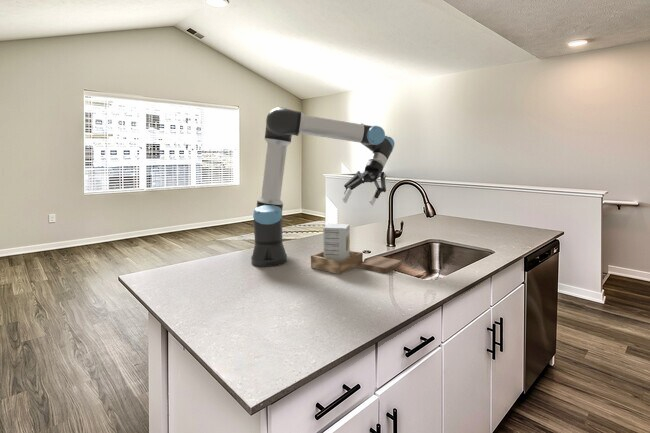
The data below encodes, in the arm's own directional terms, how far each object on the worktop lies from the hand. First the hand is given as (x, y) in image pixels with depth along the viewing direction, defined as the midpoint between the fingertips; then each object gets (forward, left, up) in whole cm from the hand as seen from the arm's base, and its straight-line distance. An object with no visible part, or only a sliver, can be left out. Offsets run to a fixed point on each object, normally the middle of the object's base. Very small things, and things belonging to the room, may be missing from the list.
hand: (357, 202), depth 162 cm
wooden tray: (0, -14, -25) cm, 28 cm away
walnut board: (+14, -4, -25) cm, 29 cm away
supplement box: (0, -14, -25) cm, 29 cm away
